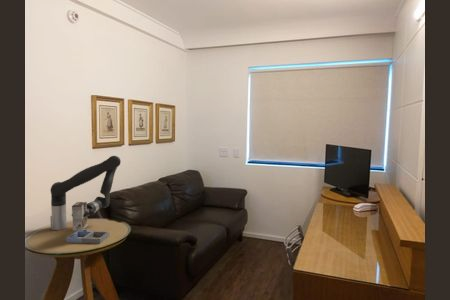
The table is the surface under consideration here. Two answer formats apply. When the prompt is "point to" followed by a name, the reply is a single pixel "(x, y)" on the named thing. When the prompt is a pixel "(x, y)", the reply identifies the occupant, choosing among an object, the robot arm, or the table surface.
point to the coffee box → (79, 215)
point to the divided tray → (87, 237)
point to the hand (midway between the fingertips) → (78, 215)
